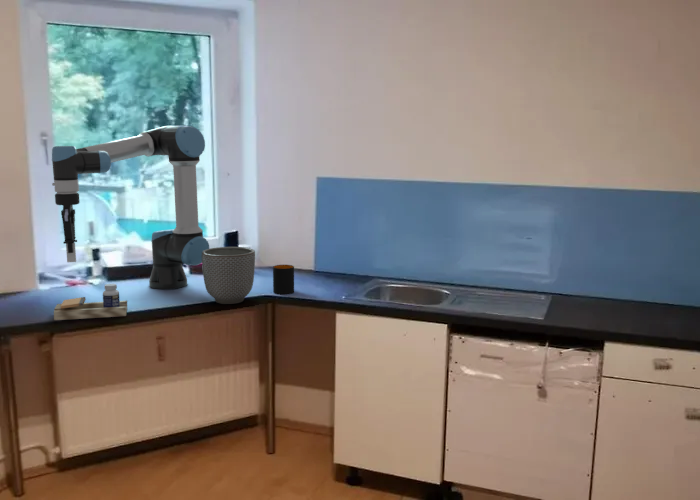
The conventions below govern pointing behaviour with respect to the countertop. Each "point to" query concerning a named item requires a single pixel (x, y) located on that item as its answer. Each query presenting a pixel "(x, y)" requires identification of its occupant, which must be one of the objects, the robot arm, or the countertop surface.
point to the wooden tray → (89, 311)
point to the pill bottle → (111, 296)
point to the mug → (283, 279)
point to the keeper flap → (73, 302)
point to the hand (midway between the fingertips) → (71, 261)
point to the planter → (228, 273)
